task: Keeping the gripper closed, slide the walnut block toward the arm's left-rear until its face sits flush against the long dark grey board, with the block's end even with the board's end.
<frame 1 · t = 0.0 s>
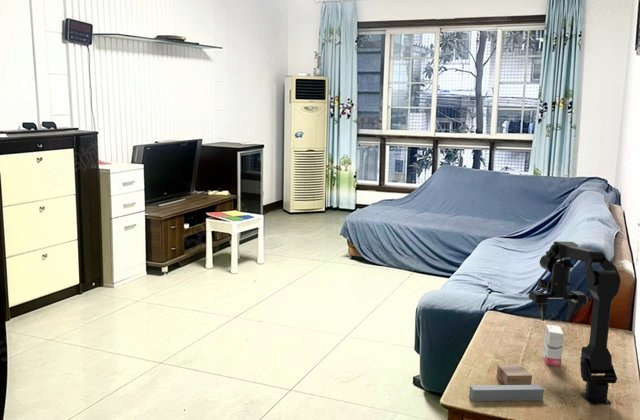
hand: (555, 320, 210), 15 cm above the table, tool pointing down, fingers open, 9 cm apart
grey board: (505, 398, 183), on the table
walnut block: (513, 383, 195), on the table
ink box: (551, 361, 213), on the table
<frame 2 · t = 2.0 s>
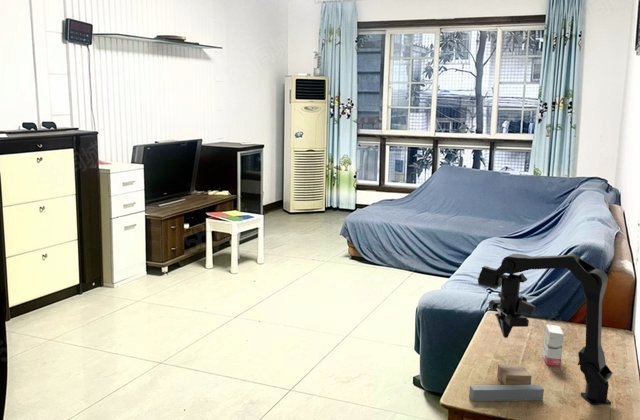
hand: (505, 337, 201), 12 cm above the table, tool pointing down, fingers closed
nothing on the table moved.
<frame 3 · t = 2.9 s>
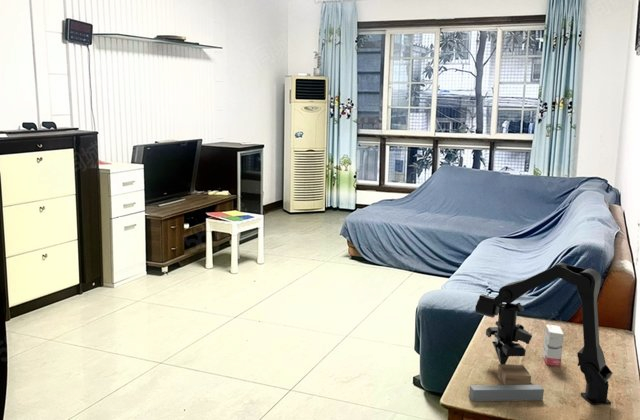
hand: (502, 365, 203), 2 cm above the table, tool pointing down, fingers closed
nothing on the table moved.
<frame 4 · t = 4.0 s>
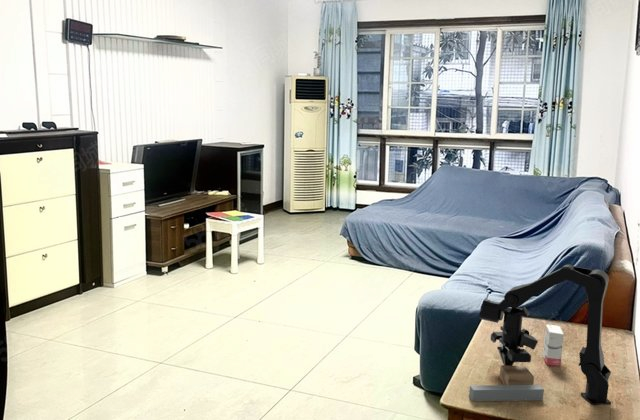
hand: (507, 371, 199), 1 cm above the table, tool pointing down, fingers closed
walnut block: (515, 384, 194), on the table, touching gripper
everything else where it was.
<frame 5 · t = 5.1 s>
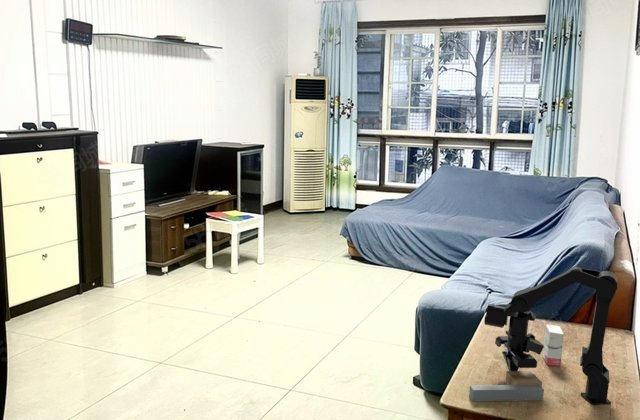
hand: (512, 376, 195), 2 cm above the table, tool pointing down, fingers closed
walnut block: (522, 390, 190), on the table, touching gripper
everything else where it was.
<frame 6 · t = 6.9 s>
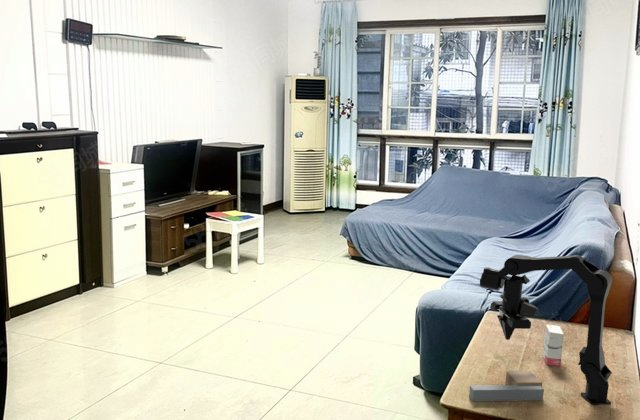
hand: (507, 339, 199), 12 cm above the table, tool pointing down, fingers closed
walnut block: (522, 390, 190), on the table
everything else where it was.
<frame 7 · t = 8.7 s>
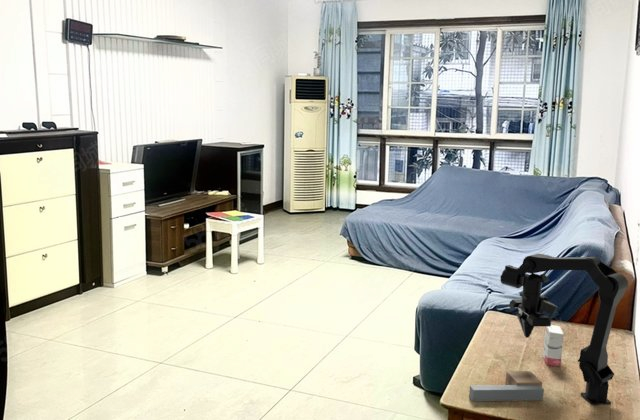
hand: (526, 337, 201), 12 cm above the table, tool pointing down, fingers closed
nothing on the table moved.
at the end: walnut block 0.9 cm from the target spot on the table beside the grey board, on the table; walnut block tilted 0° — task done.
